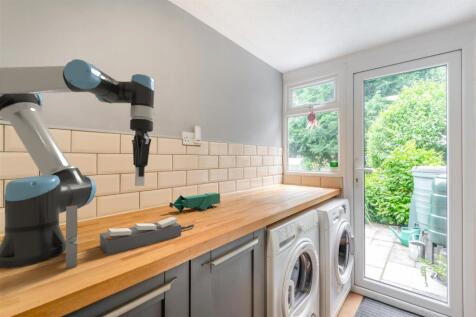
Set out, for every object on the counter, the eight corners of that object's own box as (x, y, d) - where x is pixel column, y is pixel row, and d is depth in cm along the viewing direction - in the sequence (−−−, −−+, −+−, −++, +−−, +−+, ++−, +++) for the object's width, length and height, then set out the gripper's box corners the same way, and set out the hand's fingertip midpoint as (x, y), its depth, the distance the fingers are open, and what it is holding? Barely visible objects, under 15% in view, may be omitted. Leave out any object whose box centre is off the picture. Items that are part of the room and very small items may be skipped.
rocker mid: (138, 229, 70) (138, 226, 70) (134, 227, 73) (134, 223, 73) (156, 229, 74) (156, 225, 74) (151, 226, 77) (152, 223, 77)
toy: (165, 194, 118) (212, 189, 137) (166, 212, 118) (212, 204, 137) (174, 197, 109) (222, 191, 128) (174, 216, 109) (223, 207, 128)
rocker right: (162, 228, 76) (161, 224, 75) (157, 225, 78) (157, 222, 78) (177, 221, 80) (177, 218, 79) (172, 219, 82) (172, 216, 82)
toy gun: (76, 201, 68) (77, 205, 57) (76, 253, 67) (77, 268, 55) (66, 202, 67) (66, 206, 55) (66, 255, 66) (65, 271, 54)
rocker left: (110, 235, 65) (111, 231, 65) (107, 232, 68) (108, 228, 68) (131, 234, 69) (132, 231, 69) (127, 231, 72) (128, 228, 72)
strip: (106, 255, 63) (106, 240, 63) (100, 245, 71) (100, 232, 71) (200, 230, 85) (200, 219, 85) (187, 225, 93) (187, 214, 93)
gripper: (159, 119, 74) (157, 187, 74) (146, 123, 84) (144, 183, 84) (136, 115, 69) (134, 188, 69) (125, 120, 79) (122, 184, 79)
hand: (139, 185), depth 76 cm, fingers closed
